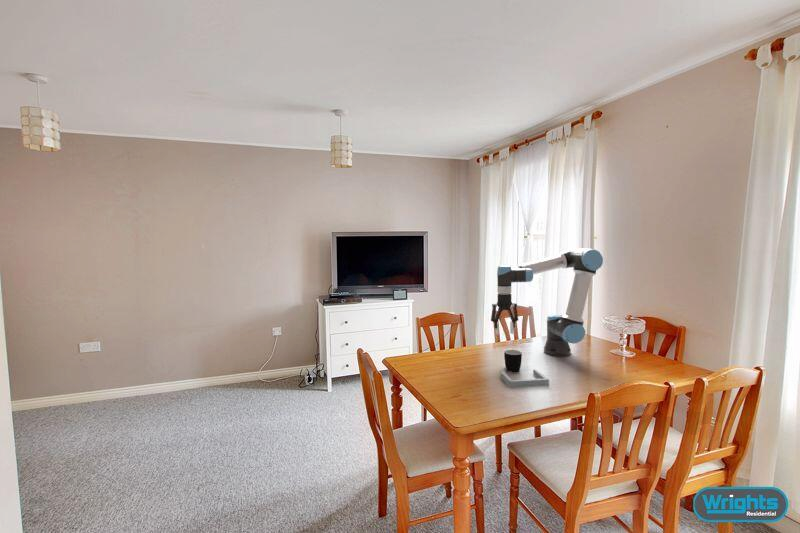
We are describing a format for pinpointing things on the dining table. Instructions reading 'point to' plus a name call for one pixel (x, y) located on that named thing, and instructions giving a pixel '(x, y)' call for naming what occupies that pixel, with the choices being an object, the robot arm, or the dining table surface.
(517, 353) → the mug
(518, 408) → the dining table surface
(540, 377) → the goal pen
